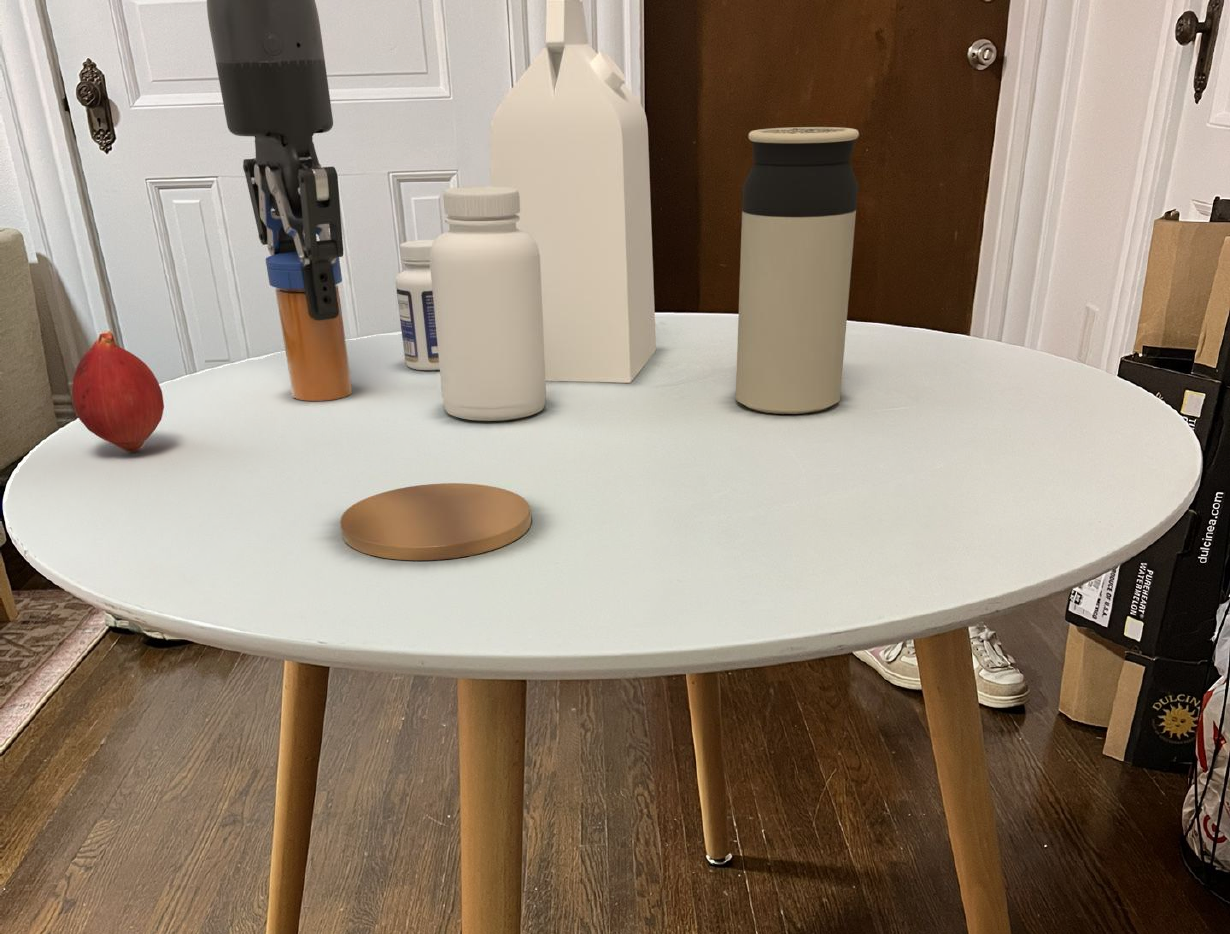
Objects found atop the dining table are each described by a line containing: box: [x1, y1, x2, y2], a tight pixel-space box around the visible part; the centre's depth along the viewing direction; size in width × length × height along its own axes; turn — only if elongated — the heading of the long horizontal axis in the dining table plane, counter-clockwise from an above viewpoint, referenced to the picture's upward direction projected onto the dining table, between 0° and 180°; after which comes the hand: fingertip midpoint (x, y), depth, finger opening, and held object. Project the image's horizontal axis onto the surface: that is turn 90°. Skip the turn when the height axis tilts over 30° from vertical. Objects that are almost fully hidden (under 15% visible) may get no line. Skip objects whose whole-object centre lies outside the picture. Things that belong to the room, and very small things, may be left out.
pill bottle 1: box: [395, 239, 440, 371], centre depth 99 cm, size 5×5×10 cm
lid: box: [265, 252, 343, 289], centre depth 89 cm, size 6×6×2 cm
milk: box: [488, 0, 657, 384], centre depth 94 cm, size 12×12×26 cm
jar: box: [274, 284, 353, 402], centre depth 92 cm, size 5×5×9 cm
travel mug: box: [735, 126, 860, 415], centre depth 84 cm, size 8×8×18 cm
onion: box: [71, 330, 165, 453], centre depth 79 cm, size 6×6×8 cm
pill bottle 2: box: [430, 185, 547, 422], centre depth 85 cm, size 8×8×15 cm
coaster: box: [339, 482, 532, 561], centre depth 67 cm, size 11×11×1 cm
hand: (310, 311), depth 91 cm, fingers closed on lid, 5 cm apart
